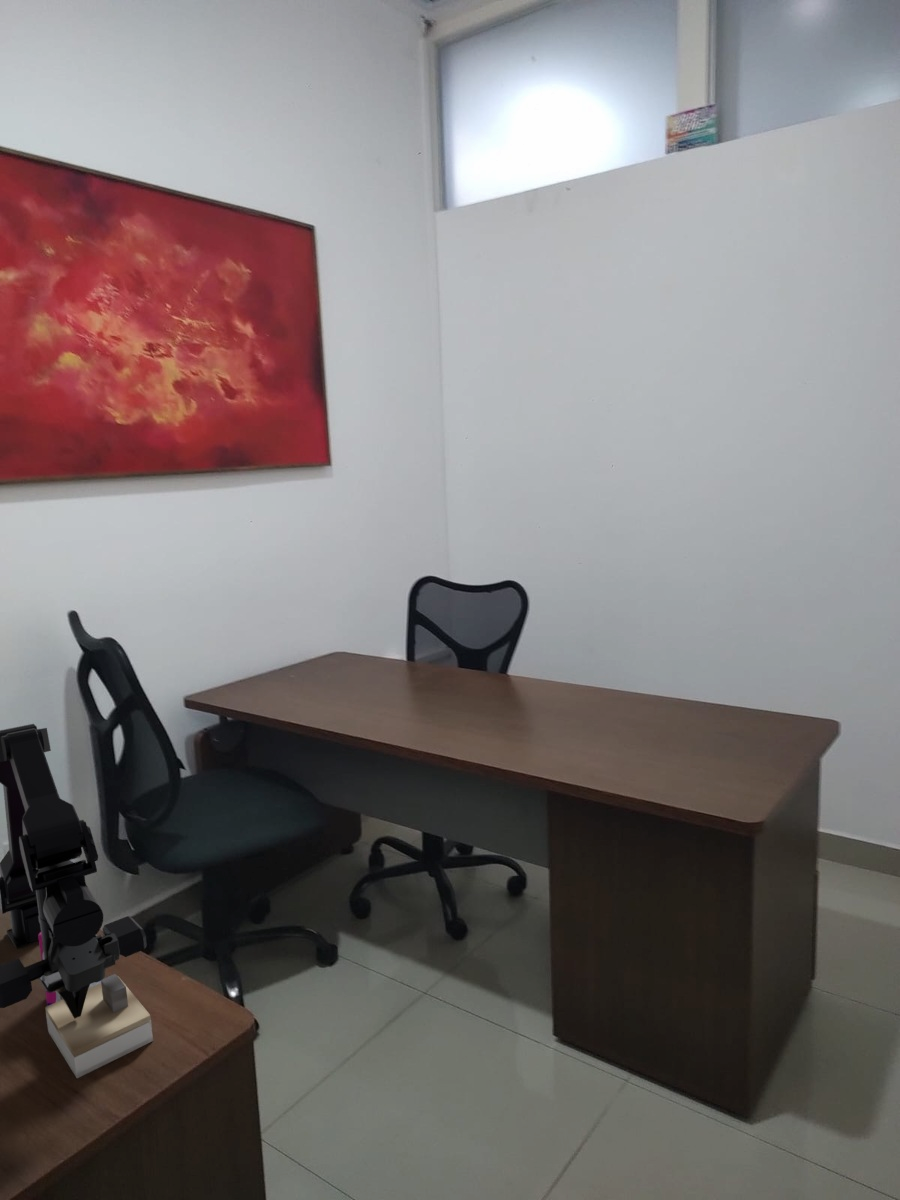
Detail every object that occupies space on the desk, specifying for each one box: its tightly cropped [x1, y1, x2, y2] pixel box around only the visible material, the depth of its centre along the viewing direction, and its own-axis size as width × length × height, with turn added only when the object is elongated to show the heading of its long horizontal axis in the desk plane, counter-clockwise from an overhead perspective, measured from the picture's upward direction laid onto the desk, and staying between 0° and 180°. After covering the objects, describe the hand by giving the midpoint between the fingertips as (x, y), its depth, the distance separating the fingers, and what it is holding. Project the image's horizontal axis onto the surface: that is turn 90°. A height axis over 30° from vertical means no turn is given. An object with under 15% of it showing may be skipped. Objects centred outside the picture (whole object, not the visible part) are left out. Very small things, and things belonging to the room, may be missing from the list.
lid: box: [44, 973, 152, 1057], centre depth 114 cm, size 12×10×4 cm
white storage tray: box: [45, 1012, 154, 1079], centre depth 115 cm, size 12×10×3 cm
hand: (76, 1016), depth 112 cm, fingers closed
